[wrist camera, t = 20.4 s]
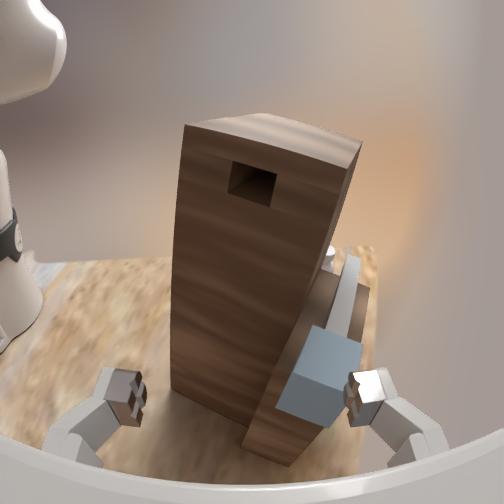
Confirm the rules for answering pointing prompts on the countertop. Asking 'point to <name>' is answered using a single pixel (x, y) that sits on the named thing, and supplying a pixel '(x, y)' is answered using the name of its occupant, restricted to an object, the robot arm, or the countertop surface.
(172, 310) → the stand
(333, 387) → the plug
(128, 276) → the countertop surface
